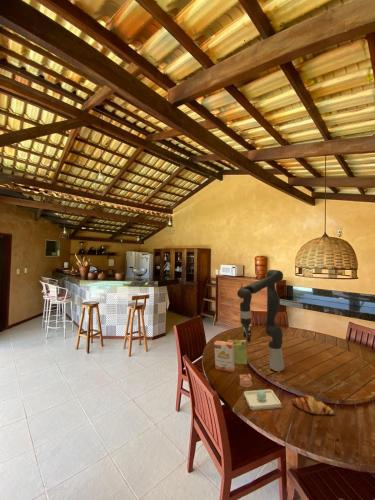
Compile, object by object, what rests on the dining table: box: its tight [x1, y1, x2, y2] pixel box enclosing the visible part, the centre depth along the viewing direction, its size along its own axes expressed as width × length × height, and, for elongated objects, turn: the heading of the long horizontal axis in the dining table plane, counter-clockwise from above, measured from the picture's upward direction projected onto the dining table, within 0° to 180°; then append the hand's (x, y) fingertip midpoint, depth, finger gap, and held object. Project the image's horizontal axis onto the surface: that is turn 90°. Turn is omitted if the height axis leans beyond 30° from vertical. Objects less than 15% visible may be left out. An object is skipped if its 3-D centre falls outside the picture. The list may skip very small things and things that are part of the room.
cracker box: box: [213, 340, 236, 373], centre depth 178 cm, size 14×6×21 cm, turn 65°
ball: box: [257, 389, 266, 401], centre depth 138 cm, size 6×6×6 cm
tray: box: [243, 388, 283, 411], centre depth 138 cm, size 18×14×2 cm
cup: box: [239, 373, 253, 388], centre depth 157 cm, size 8×8×5 cm
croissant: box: [290, 395, 335, 415], centre depth 129 cm, size 21×10×8 cm, turn 61°
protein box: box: [227, 339, 248, 365], centre depth 190 cm, size 10×15×16 cm
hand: (247, 339), depth 162 cm, fingers open, 8 cm apart
